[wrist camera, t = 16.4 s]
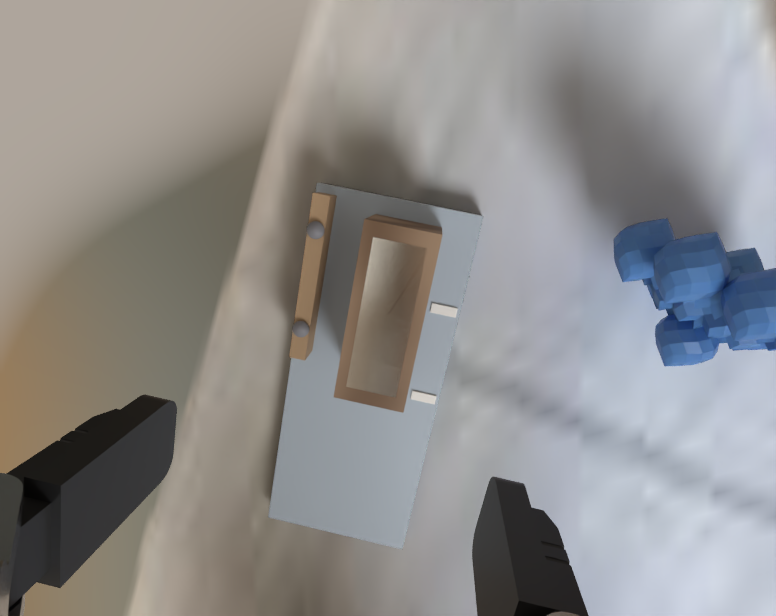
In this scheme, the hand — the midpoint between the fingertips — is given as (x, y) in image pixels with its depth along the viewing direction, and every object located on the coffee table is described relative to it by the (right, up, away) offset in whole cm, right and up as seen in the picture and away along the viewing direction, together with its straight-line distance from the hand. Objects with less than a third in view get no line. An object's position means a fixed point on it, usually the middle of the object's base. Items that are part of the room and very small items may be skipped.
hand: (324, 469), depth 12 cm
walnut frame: (+2, +4, +17) cm, 18 cm away
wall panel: (0, -1, +20) cm, 20 cm away
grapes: (+18, +5, +17) cm, 25 cm away
